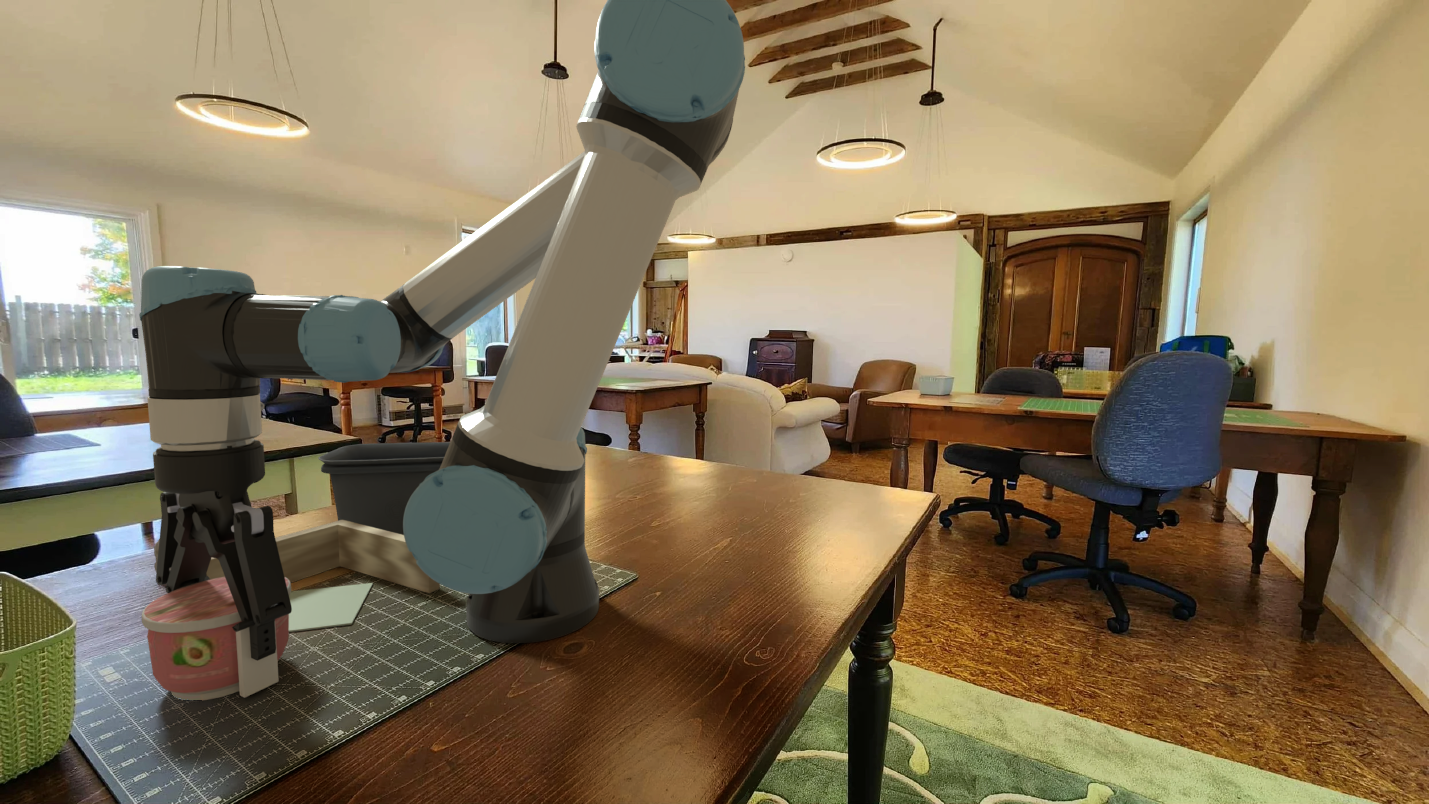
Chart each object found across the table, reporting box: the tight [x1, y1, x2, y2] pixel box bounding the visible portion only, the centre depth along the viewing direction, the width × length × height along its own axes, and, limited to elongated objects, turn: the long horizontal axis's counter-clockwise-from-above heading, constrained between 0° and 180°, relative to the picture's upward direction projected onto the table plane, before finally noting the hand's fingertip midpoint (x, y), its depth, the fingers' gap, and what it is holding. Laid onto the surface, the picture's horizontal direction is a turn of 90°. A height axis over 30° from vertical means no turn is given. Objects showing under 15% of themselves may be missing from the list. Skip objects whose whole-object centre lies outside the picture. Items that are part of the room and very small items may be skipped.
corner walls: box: [206, 520, 441, 594], centre depth 69 cm, size 20×18×6 cm
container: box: [141, 577, 292, 701], centre depth 53 cm, size 10×10×8 cm
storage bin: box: [318, 441, 451, 535], centre depth 93 cm, size 21×16×14 cm
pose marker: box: [289, 582, 374, 633], centre depth 67 cm, size 11×11×1 cm
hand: (225, 671), depth 54 cm, fingers closed on container, 10 cm apart
